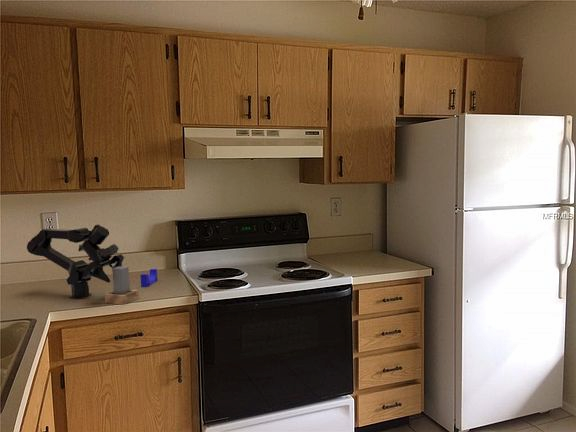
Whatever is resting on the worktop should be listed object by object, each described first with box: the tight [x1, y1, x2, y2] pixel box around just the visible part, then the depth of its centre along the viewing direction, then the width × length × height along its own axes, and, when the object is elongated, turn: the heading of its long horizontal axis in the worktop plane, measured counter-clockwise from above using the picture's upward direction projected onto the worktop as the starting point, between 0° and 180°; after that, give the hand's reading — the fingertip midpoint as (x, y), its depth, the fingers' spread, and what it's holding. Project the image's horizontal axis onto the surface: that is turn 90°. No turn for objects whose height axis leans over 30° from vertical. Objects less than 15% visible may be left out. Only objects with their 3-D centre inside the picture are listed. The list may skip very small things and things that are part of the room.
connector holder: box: [104, 288, 140, 305], centre depth 199 cm, size 10×10×4 cm
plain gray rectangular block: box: [111, 265, 131, 295], centre depth 199 cm, size 4×4×13 cm
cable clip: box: [140, 268, 159, 288], centre depth 226 cm, size 12×4×6 cm, turn 173°
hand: (117, 279), depth 199 cm, fingers open, 9 cm apart
